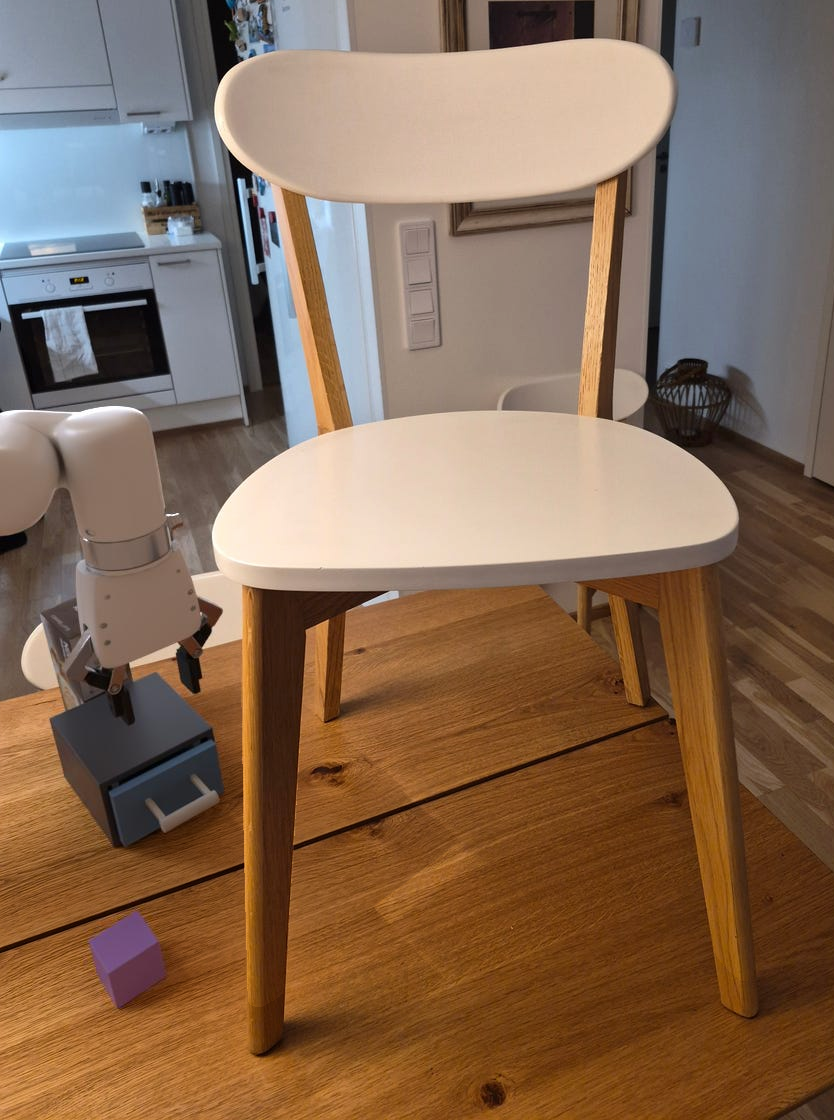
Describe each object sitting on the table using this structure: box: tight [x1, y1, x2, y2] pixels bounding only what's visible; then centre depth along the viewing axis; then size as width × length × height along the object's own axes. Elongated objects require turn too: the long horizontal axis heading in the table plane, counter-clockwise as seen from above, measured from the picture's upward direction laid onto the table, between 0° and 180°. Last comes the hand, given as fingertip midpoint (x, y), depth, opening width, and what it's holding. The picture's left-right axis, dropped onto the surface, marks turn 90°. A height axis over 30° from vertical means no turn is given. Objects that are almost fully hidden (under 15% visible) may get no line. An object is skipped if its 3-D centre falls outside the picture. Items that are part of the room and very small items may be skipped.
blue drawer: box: [108, 739, 225, 848], centre depth 94 cm, size 19×11×7 cm, turn 44°
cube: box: [88, 910, 167, 1010], centre depth 76 cm, size 4×4×4 cm
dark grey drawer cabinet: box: [49, 671, 216, 848], centre depth 97 cm, size 15×13×9 cm
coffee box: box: [39, 597, 134, 712], centre depth 106 cm, size 9×6×16 cm
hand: (158, 701), depth 85 cm, fingers open, 6 cm apart
